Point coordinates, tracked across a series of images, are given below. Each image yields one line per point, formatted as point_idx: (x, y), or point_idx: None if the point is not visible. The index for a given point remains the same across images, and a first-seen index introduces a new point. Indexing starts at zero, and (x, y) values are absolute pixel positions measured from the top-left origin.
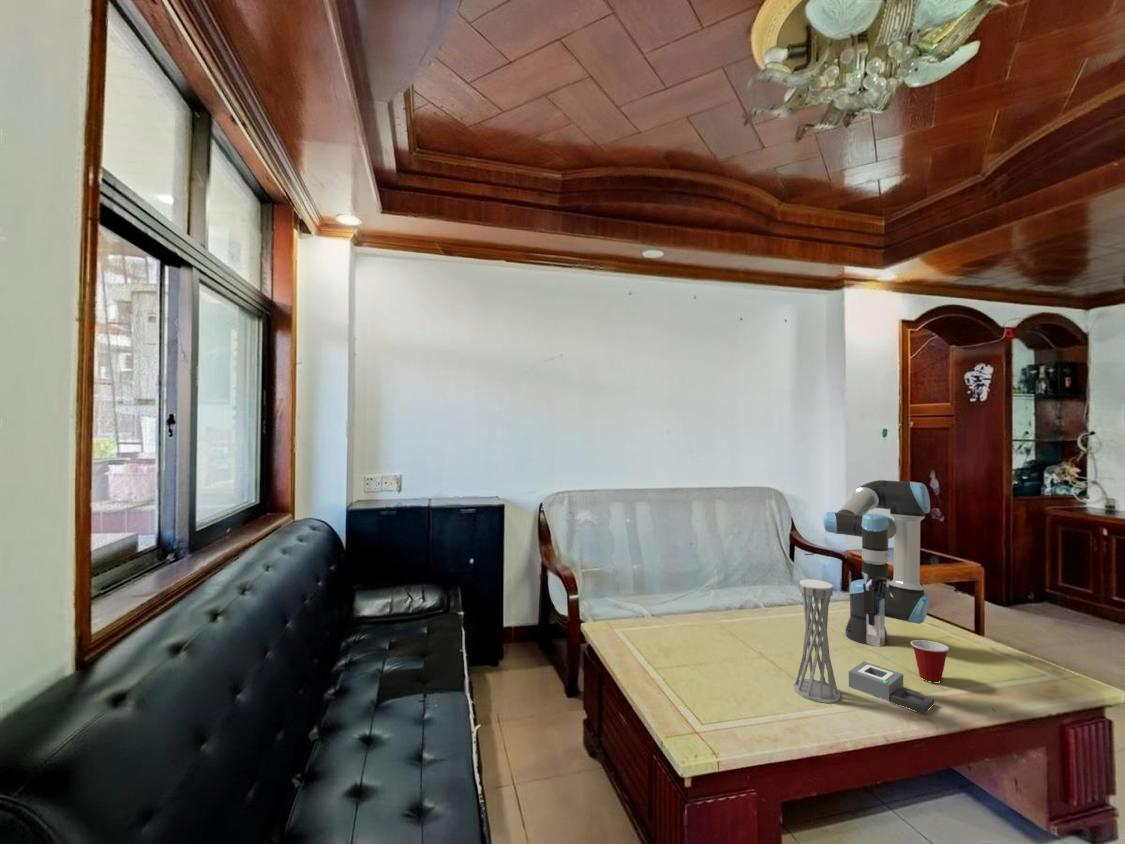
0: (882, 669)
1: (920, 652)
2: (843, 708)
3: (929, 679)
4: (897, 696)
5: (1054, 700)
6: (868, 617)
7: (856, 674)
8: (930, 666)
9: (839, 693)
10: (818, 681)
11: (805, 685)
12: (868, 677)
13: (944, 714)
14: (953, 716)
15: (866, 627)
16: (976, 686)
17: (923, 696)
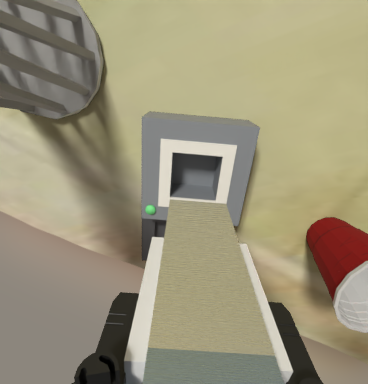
0: (228, 185)
1: (339, 272)
2: (28, 140)
3: (308, 239)
4: (152, 219)
5: (346, 353)
6: (97, 347)
7: (142, 140)
8: (318, 265)
9: (78, 111)
10: (86, 36)
11: (24, 13)
12: (146, 171)
13: None
14: None
15: (163, 247)
16: None
17: None
